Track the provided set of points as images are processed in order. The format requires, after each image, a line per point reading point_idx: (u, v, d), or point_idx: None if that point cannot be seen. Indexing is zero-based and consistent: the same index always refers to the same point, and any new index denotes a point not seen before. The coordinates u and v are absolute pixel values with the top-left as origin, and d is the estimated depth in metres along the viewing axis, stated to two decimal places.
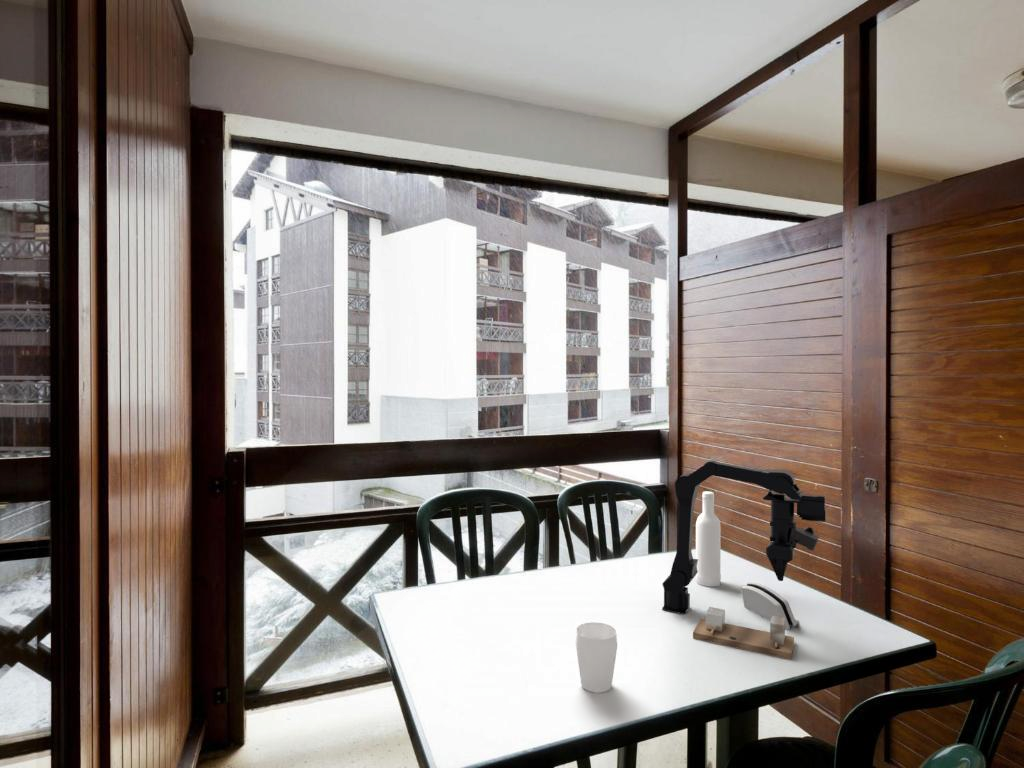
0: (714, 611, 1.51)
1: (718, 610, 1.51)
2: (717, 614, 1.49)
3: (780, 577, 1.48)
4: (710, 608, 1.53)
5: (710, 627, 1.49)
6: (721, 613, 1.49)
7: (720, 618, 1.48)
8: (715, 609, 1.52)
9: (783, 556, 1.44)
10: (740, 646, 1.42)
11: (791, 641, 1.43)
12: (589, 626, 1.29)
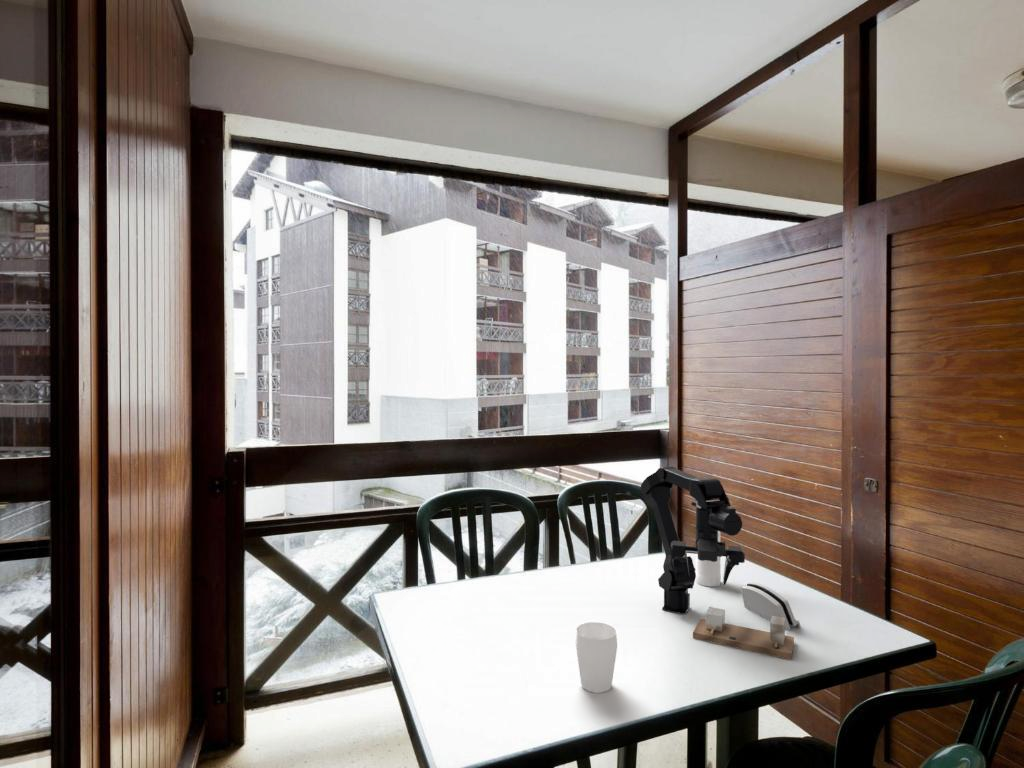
0: (714, 611, 1.51)
1: (718, 610, 1.51)
2: (717, 614, 1.49)
3: None
4: (710, 608, 1.53)
5: (710, 627, 1.49)
6: (721, 613, 1.49)
7: (720, 618, 1.48)
8: (715, 609, 1.52)
9: None
10: (740, 646, 1.42)
11: (791, 641, 1.43)
12: (589, 626, 1.29)
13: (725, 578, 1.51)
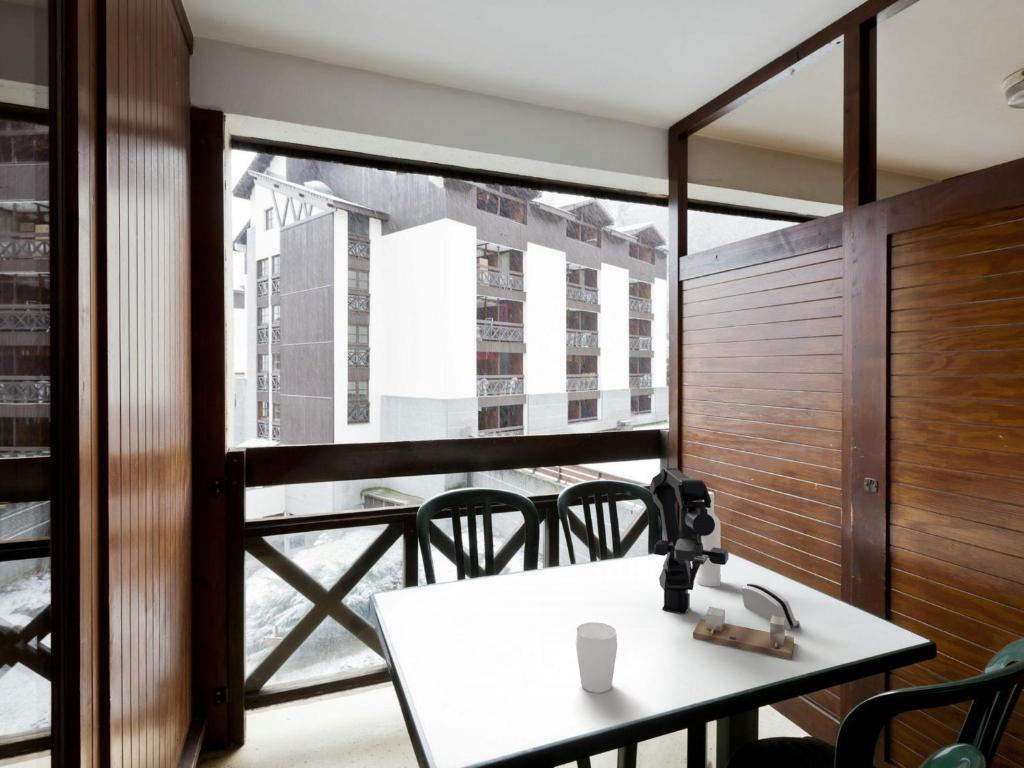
0: (714, 611, 1.51)
1: (718, 610, 1.51)
2: (717, 614, 1.49)
3: None
4: (710, 608, 1.53)
5: (710, 627, 1.49)
6: (721, 613, 1.49)
7: (720, 618, 1.48)
8: (715, 609, 1.52)
9: None
10: (740, 646, 1.42)
11: (791, 641, 1.43)
12: (589, 626, 1.29)
13: (692, 577, 1.53)
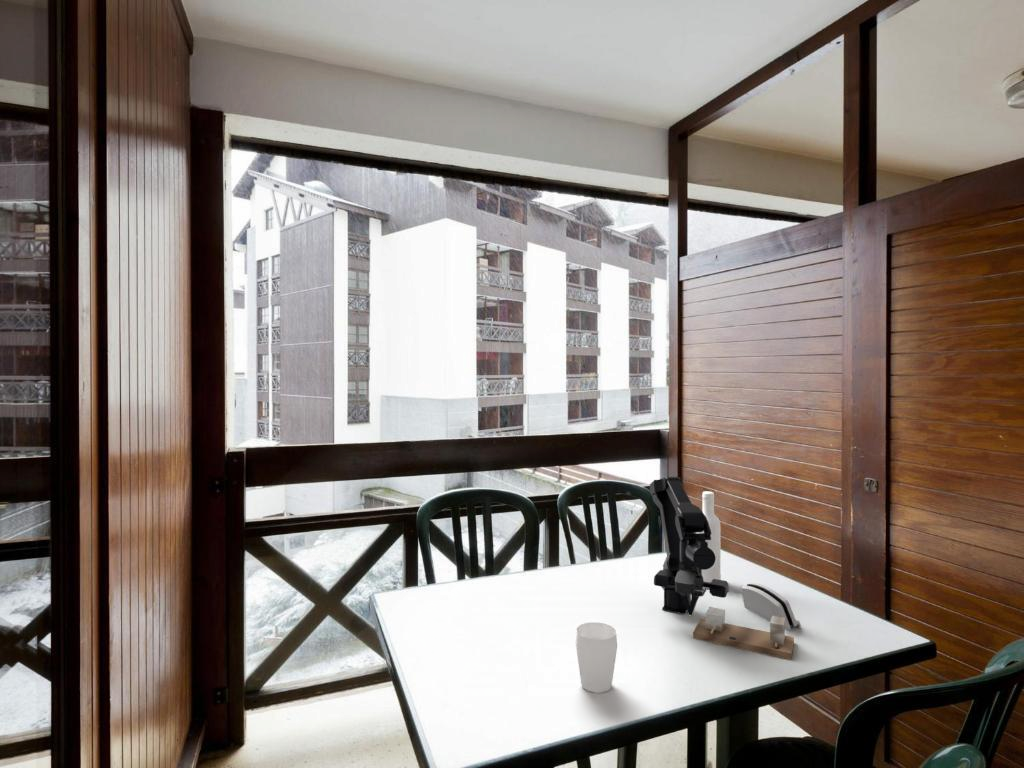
0: (714, 611, 1.51)
1: (718, 610, 1.51)
2: (717, 614, 1.49)
3: None
4: (710, 608, 1.53)
5: (710, 627, 1.49)
6: (721, 613, 1.49)
7: (720, 618, 1.48)
8: (715, 609, 1.52)
9: None
10: (740, 646, 1.42)
11: (791, 641, 1.43)
12: (589, 626, 1.29)
13: (691, 608, 1.53)
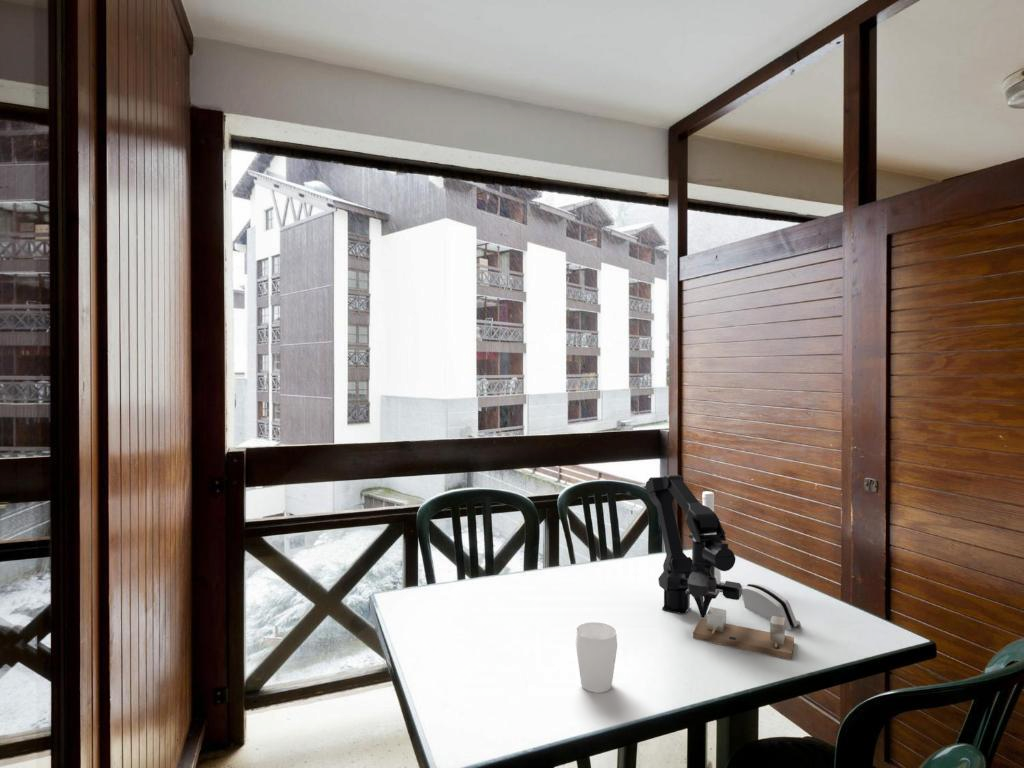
0: (715, 611, 1.51)
1: (719, 610, 1.51)
2: (718, 614, 1.49)
3: None
4: (711, 608, 1.52)
5: (711, 627, 1.49)
6: (722, 613, 1.49)
7: (721, 618, 1.47)
8: (716, 609, 1.52)
9: None
10: (740, 646, 1.42)
11: (791, 641, 1.43)
12: (589, 626, 1.29)
13: (704, 611, 1.51)
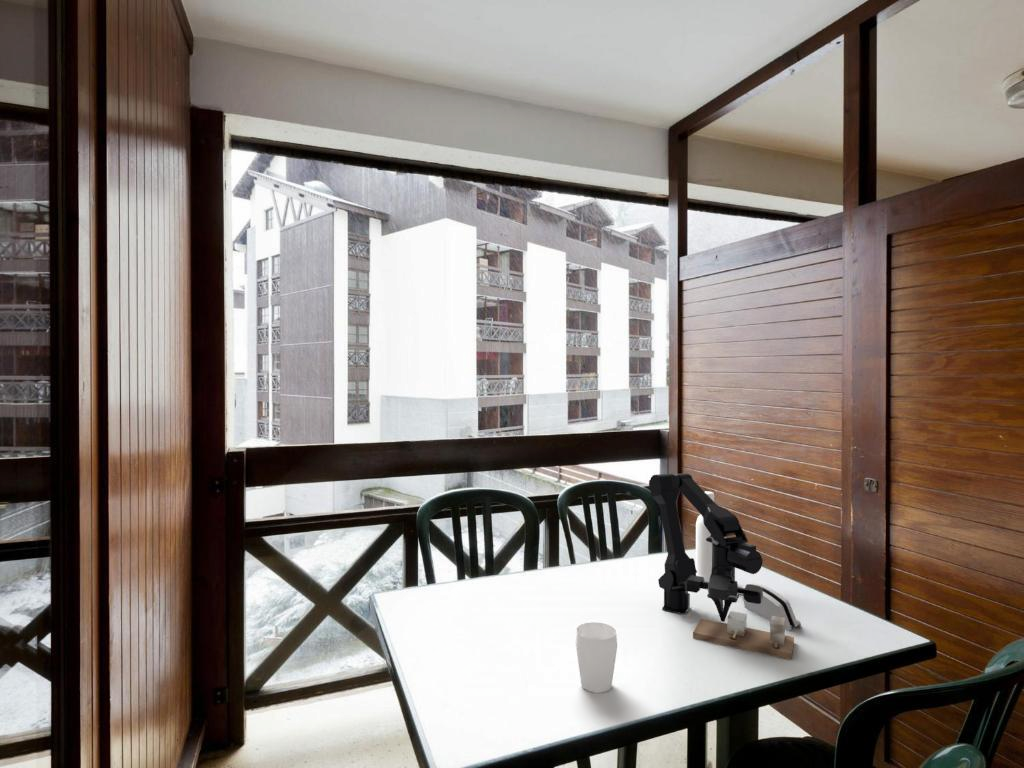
0: (735, 615, 1.48)
1: (739, 614, 1.49)
2: (739, 618, 1.46)
3: None
4: (731, 612, 1.50)
5: (732, 632, 1.46)
6: (743, 617, 1.47)
7: (742, 622, 1.45)
8: (736, 613, 1.49)
9: None
10: (740, 646, 1.42)
11: (791, 641, 1.43)
12: (589, 626, 1.29)
13: (724, 615, 1.49)
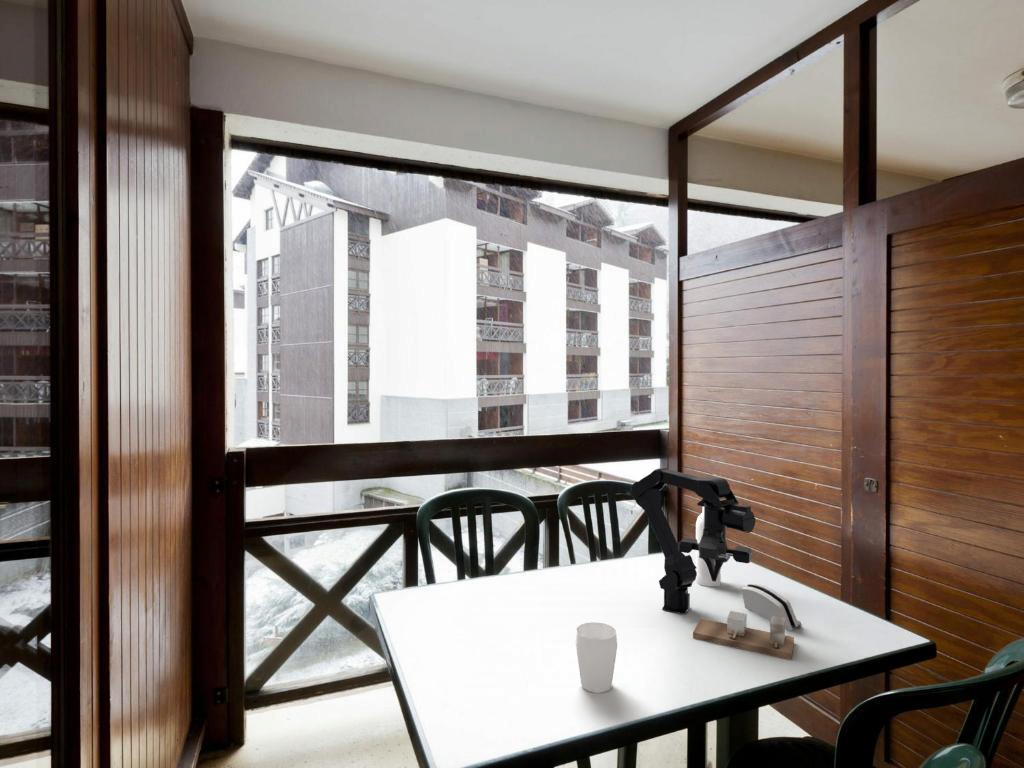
0: (735, 615, 1.48)
1: (739, 614, 1.49)
2: (739, 618, 1.46)
3: None
4: (731, 612, 1.50)
5: (732, 632, 1.46)
6: (743, 617, 1.47)
7: (742, 622, 1.45)
8: (736, 613, 1.49)
9: None
10: (740, 646, 1.42)
11: (791, 641, 1.43)
12: (589, 626, 1.29)
13: (715, 574, 1.55)
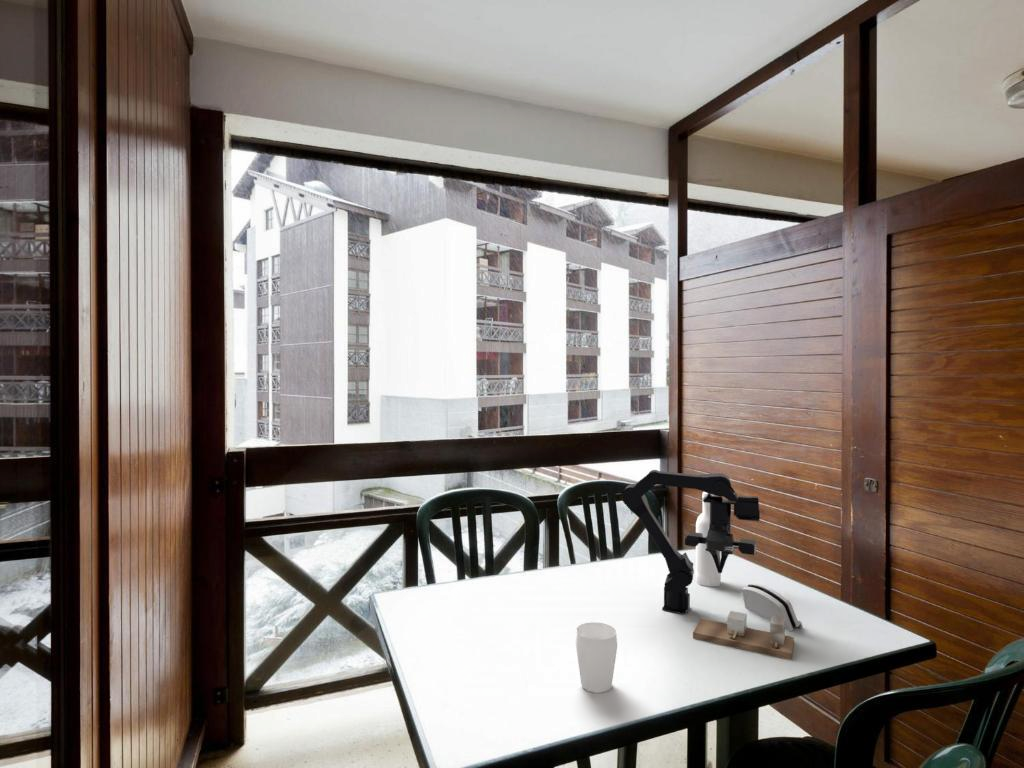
0: (735, 615, 1.48)
1: (739, 614, 1.49)
2: (739, 618, 1.46)
3: None
4: (731, 612, 1.50)
5: (732, 632, 1.46)
6: (743, 617, 1.47)
7: (742, 622, 1.45)
8: (736, 613, 1.49)
9: None
10: (740, 646, 1.42)
11: (791, 641, 1.43)
12: (589, 626, 1.29)
13: (721, 566, 1.61)
